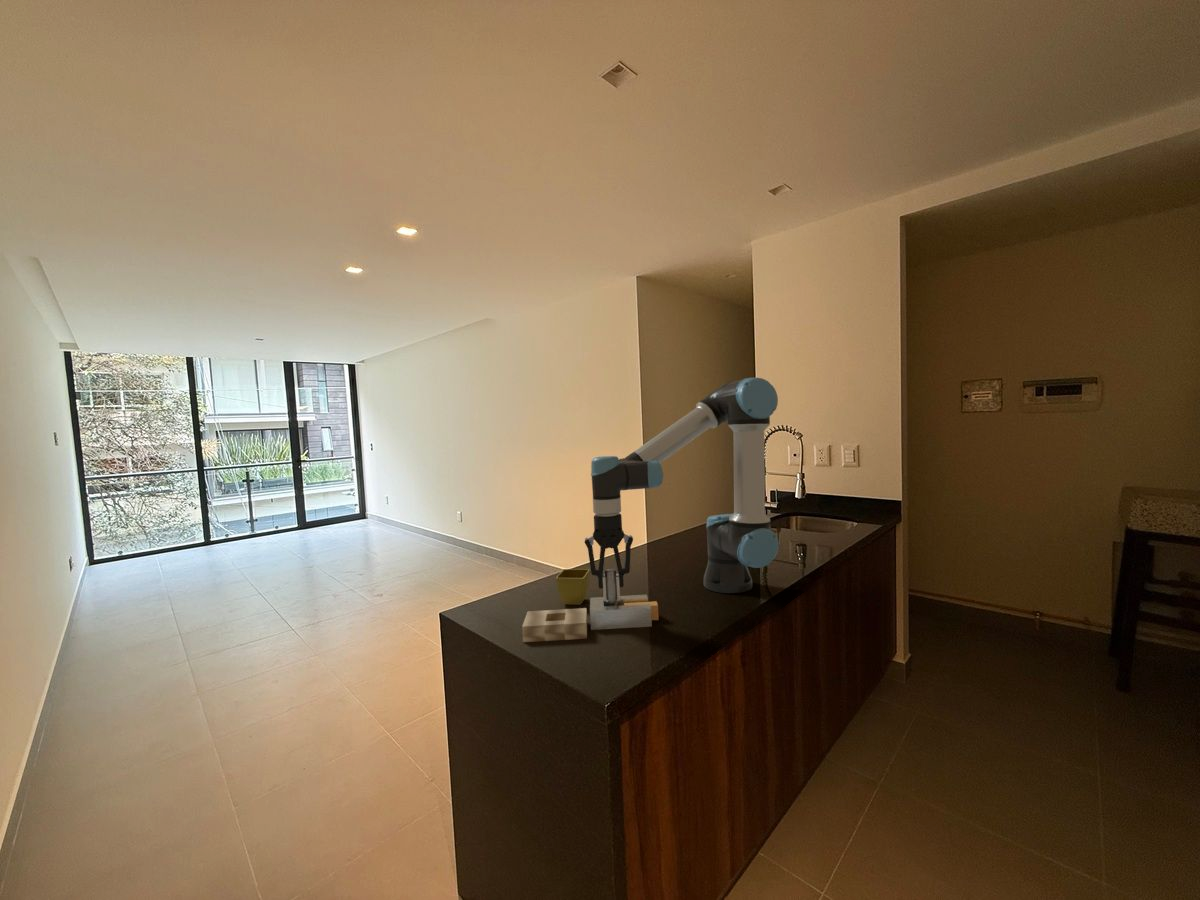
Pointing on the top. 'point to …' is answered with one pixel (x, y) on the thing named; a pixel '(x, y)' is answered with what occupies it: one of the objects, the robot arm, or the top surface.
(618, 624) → the socket block
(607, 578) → the drill peg
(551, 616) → the rack block
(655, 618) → the drift key
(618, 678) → the top surface
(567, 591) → the flower pot
